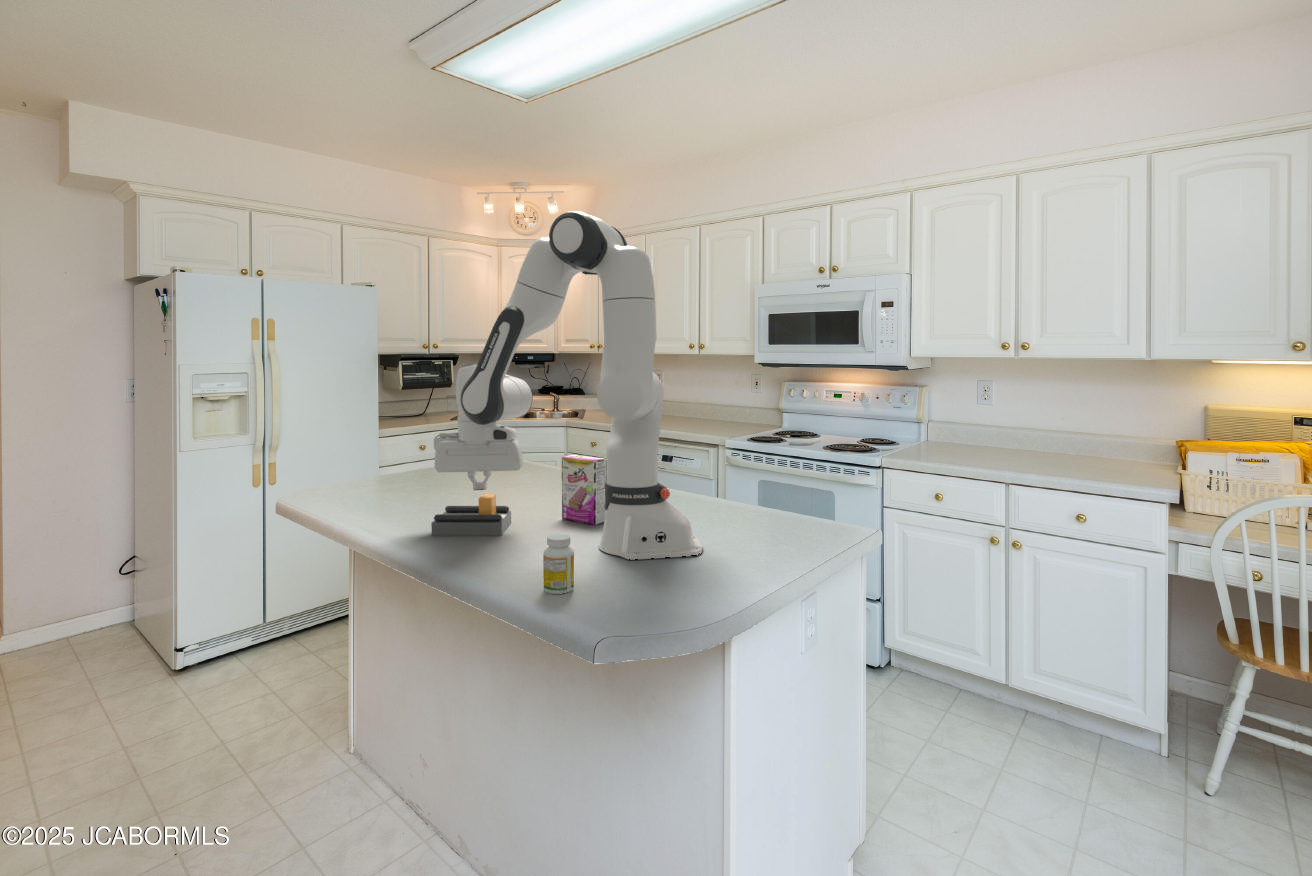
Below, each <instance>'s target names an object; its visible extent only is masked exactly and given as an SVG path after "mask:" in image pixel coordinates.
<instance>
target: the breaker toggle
mask: <svg viewBox="0 0 1312 876" xmlns="http://www.w3.org/2000/svg"><path fill="white" fill-rule="evenodd" d="M478 506H479V514H495V513H496V506H497V493H496V494H495V493H493V494H492V493H491V494H489V493H485V494H482V495H480V497H479V498H478Z"/></svg>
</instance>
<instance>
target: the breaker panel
mask: <svg viewBox="0 0 1312 876" xmlns="http://www.w3.org/2000/svg"><path fill="white" fill-rule="evenodd" d="M444 509H445V510H444V512H443V513H442V514H439V513H437V514H435V515H434V517H433V521H432V522H431V525H430V527H431V536H441V535H442V536H445V537H446V536H453V537H454V536H457V537H458V536H459V537H460V536H463V537H465V536H467V537H468V536H470V537H471V536H473V537H474V536H504V535H503V534H504V533H505V532H506V530H507V529H508V528H509V527H510V525H511V524H512V511H511V510H510V507H509V506H508V505H496V513H495V514H479V505H447V506H445V508H444Z"/></svg>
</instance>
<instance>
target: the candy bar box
mask: <svg viewBox="0 0 1312 876" xmlns="http://www.w3.org/2000/svg"><path fill="white" fill-rule="evenodd" d="M606 482H607V458H602V457H595V456H587V455H579V454H570V455H563V456H562V457H561V519H562V520H566V521H571V522H576V523H582V524H587V525H592V526H598V525H601V524H604V520H605V507H604V487H605V483H606Z"/></svg>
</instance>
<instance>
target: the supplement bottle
mask: <svg viewBox="0 0 1312 876" xmlns="http://www.w3.org/2000/svg"><path fill="white" fill-rule="evenodd" d="M546 540H547V541H546V544H547V547H546V548H545V549H544V550H543V552H542V553H543V555H542V557H543V558H542V559H543V563H542V564H543V568H542V569H543V576H542V577H543V590H544V592H546V593H547V594H550V595H564V594H563V593H565V594H568V593H570V592H572V591H573V590H574V587H575V579H574V578H575V576H574V575H575V551H574V549H573V548H572V547H571V546H570V545H571V536H570V535H569V534H567V533H566V534H564V533H553V534H550V535H548V536H547V539H546ZM567 592H568V593H567Z"/></svg>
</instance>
